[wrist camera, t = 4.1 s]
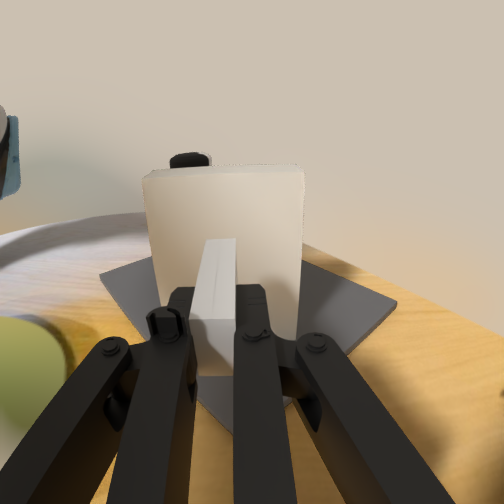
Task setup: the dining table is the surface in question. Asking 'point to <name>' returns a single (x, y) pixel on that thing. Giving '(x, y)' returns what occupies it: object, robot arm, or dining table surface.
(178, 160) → the medicine bottle
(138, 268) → the mat
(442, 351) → the dining table surface
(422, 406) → the dining table surface
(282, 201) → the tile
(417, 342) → the dining table surface
